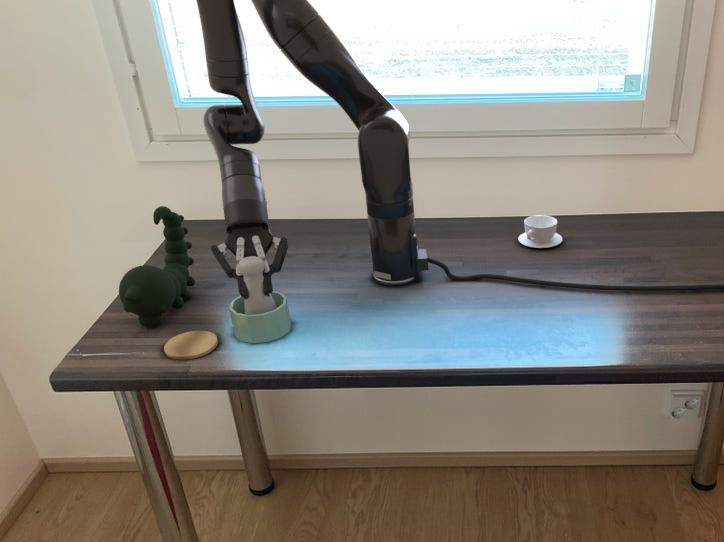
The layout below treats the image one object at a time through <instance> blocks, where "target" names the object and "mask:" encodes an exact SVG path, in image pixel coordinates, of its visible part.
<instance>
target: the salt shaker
mask: <svg viewBox="0 0 724 542" xmlns="http://www.w3.org/2000/svg"><path fill="white" fill-rule="evenodd" d="M238 268H239V272H240V273H241V274H242V275H244V282H245V283H246V288H247V294H248V298H247V299H244V301H245V315H255V314H263V313H267V312H270V311H273V310H275V309H276V308H277V307H276V304H275V302H274V300H273V298H272V295H271V293H269V294H270V296H265V293H264V287H263V279H264V277H263V275H262V274H263V271H264V263H263V260H262V259H261V258H259V257H256V256H249V257H245V258H243V259H241V260H240V261H239V264H238Z"/></svg>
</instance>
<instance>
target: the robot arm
mask: <svg viewBox="0 0 724 542" xmlns="http://www.w3.org/2000/svg"><path fill="white" fill-rule="evenodd" d="M195 1H196V5H197V10H198V14H199V20H200V26H201V32H202V39H203V46H204V47H203V48H204V54H205V63H206V70H207V77H208V83H209V86H210V89H211V90H212V91H214V92H216V93H218V94H223V95H227V96H230V97H231V96H232V97H234V98H237V100H239V102H240V103H241V104H214V105H211V106H209V107H207V109H205V111H204V114H203V121H202V123H203V127H204V130H205V132H206V136H207V137H208V139H209V141H210V144H211V145H212V148H213V150H214V152H215V155H216V158H217V161H218V167H219V174H220V180H221V182H220V183H221V200H222V207H223V217H224V225H225V233H226V234H225V238H224V242H222V243H220V244H218V245H216V244H213V245H211V247H210V251H211V252H212V254H213V256H214V257H215V259H216V260H217V262H218V263H219V266H221V268H222V270H223V272H224V273H225V274H226V276H227V278H229V279H236V282H237V289H238V290H237V291H238V293H239V296H240V295H241V297H244V299H247V298H248V294H247V288H246V283H245V282H244V275H242V274H241V273H240V272H239V268H238V264H239V261H240V260H241V259H243V258H245V257H249V256H256V257H259V258H261V259H262V260H263V263H264V271H263V272H262V275H263V277H264V279H263V287H264V293H265V296H270V294H269V293H272V292H273V291H274V288H273V287H274V286H273V281H272V276H273V275H274V274H275V273H280V272H281V271H282V268H283V264H284V261H285V258H286V255H287V252H288V249H289V241H288V239H287V238H286V237H285V236H284V237H281V238H280V237H277V236H274V233H272V231H271V228H270V221H269V214H268V207H267V206H268V202H267V198H266V192H265V189H264V185H263V180H262V173H261V167H260V166H261V165H260V160H259V157H258V155H257V154H256V153H255V152H254V151H252V150H251V149H247V148H244V147H238V146H236V145H255V144H259V142H261V140H262V139H263V137H264V136H265V130H266V129H265V123H264V119H263V116H262V114H261V112H260V109H259V106H258V104H257V102H256V99H255V96H254V92H253V89H252V85H251V79H250V69H249V59H248V51H247V50H248V49H247V45H246V39H245V35H244V31H243V27H242V24H241V21H240V18H239V15H238V12H237V9H236V5H235V1H234V0H195ZM250 1H251V3H252V5H253V7H254V8H255V10H256V13H257V15H258V17H259V19H260V21H261V23H262V24H263V27H264V28H265V30H266V32H267V34H268V35H269V37H270V38H271V41H272V42H273V43H274V44H275V45H276V47H277V48H278V49H279V50H280V52H281V53H282V54H283V55H284V56H285V58H286V59H287V60H288V61H289V62H290V63H291V65H292V66H293V67H294V69H296V71H298V72H299V73H300V74H301V75H302V76H303V77H304V78H305V79H306V80H307V81H309V82H310V83H311V84H313V85H314V86H315V87H317V88H318V89H319V90H321V91H322V92H323V93H325V94H326V95H328V96H329V97H330V98H331V99H332V100H333V101H335V102H336V103H337V105H339V107H341V109H342V110H343V111H344V113H345V114H346V115H347V116H348V118H349V119H350V121H351V122H352V123H353V124H354V126H355V127H356V129H357V131H358V134H357V149H358V160H359V168H360V176H361V183H362V187H363V189H364V193H365V194H364V195H365V203H366V204H365V205H366V213H367V224H368V233H369V234H368V235H369V243H370V252H371V253H370V254H371V262H372V276H373V277H372V278H373V280H374V282H376V283H377V284H379V285H383V286H390V287H391V286H392V287H397V286H398V287H399V286H405V285H407V284H410V283H413V282H419V281H420V272H423V271H429V264H431V265H435V266H438V267H439V268H440V269H442V270H443V271H444V273H445V275H446V277H448V278H449V279H451V280H454V281H457V282H458V281H459V282H460V281H461V282H462V281H463V282H464V281H475V280H482V279H483V280H484V279H485V280H486V279H488V280H499V281H507V282H511V283H513V282H514V283H519V284H528V285H538V286H547V287H556V288H566V289H577V290H578V289H579V290H595V291H616V292H617V291H620V292H621V291H622V292H656V291H657V292H658V291H659V292H660V291H661V292H664V291H665V292H667V291H670V292H671V291H702V290H703V291H704V290H705V291H707V290H724V283H718V284H717V283H716V284H715V283H714V284H713V283H712V284H682V285H679V284H678V285H677V284H675V285H614V284H613V285H612V284H609V285H608V284H591V283H589V284H588V283H577V282H576V283H574V282H563V281H554V280H553V281H552V280H543V279H534V278H527V277H526V278H525V277H517V276H511V275H504V274H496V273H495V274H494V273H477V274H472V275H466V276H465V275H464V276H461V275H456V274H453V273H452V272H451V270H450V268H449V267H448V266H447V265H446V264H445V263H444V262H442V261H440V260H437V259H434V258H432V257H429V256H428V252H427V249H426V248H418V239H417V238H418V237H417V231H416V219H415V218H416V217H415V203H414V188H413V186H414V185H413V181H412V176H411V162H410V161H411V160H410V147H409V143H410V138H411V131H410V126H409V123H408V121H407V119H406V118H405V116H404V115H403V114H402V113H401V112H400V110H398V109H397V107H395V106H394V105H393V104H392V103H391V102H390V101H389V99H387V98H386V97H385V96H384V94H382V93H381V92H380V90H379V89H378V88H377V87H375V85H374V84H373V83H372V82H371V80H369V79H368V77H367V76H366V75H365V74H364V71H362V69H361V68H360V66H359V64H357V62H356V60H355V59H354V58H353V56H352V55H351V53H350V52H349V51H348V49H347V48H346V47H345V45H344V44H343V43H342V42H341V40H340V39H339V37H338V36H337V35H336V33H335V32H334V31H333V30H332V28H331V27H330V25H329V24H328V23H327V22H326V21H325V19H324V18H323V17H322V16H321V14H320V13H319V12H318V11H317V10H316V8H315V7H313V5H312V4H311V2H309V1H308V0H250ZM234 145H235V146H234ZM273 245H274V249H275V250H276V251H275V255H274V258H273V261H272V263H271V264H269V262H268V259H267V255H268V252H269V251H270V249H271V248H272V246H273ZM227 250H229V252H231V253H232V254H233V255H234V256H235V261H236V266H235V268H233V267H231V265H230V263H229V262H228V261H227V259H226V257H227V255H228V253H227Z"/></svg>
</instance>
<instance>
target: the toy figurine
mask: <svg viewBox="0 0 724 542" xmlns="http://www.w3.org/2000/svg"><path fill="white" fill-rule="evenodd" d="M152 217H153V223H154V225H156V226H158V225H159V224H160V222H161V220H162V225H163V226H164V228H163V231H162V235H163V237H164V239H165V242H164V250H165V253H166V254H165V255H164V264H165V265H164V266H163V268H160V267H158V266H155V265H151V264H149V265H148V264H145V265H144V264H143V265H138V266H135V267H133V268H131V269H129V270H128V271H127V272H125V273H124V275H123V276H122V277H121V280H120V282H119V285H118V296H119V299H120V302H121V304H122V305H123V309H124V311H125V312H126V313H131V314H134V315H135V316H138V318H137V319H138V320H137V321H138V322H139V324H140V325H142V326H143V327H146V328H154V327H155V328H156V327H158V326H161V324H162V323H163V321H164V316H163V314H164V313H166V312H167V311H169V309H170V308H172V309H175V310H180V309H181V308H182V307H183V306H184V303H185V301H188V300H189V299H191V297H192V292H191V291H190V290H189V289H188V287H189V288H190V287H194V285H195V284H196V279H195V277H193V276H190V270H189V269H188V268H189V267H190V266H193V265H194V263H195V260H194V258H193V257H191V256H189V254H188V253H187V252H188V250H190V249H192V247H193V244H192V242H190V241H186V240H185V235H187V234H189V229H188V228H187V227H185V226H182V222H184V221H185V217H184V216H183V215H182V214H179V213H178V212H175V211H172V209H170V208H169V207H167V206H163V205H161V206H158V207H156V208H155V209H154V211H153V215H152Z"/></svg>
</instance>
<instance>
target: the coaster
mask: <svg viewBox="0 0 724 542" xmlns="http://www.w3.org/2000/svg"><path fill="white" fill-rule="evenodd" d="M218 343H219V340H218V336H217V335H216V334H215V333H213V332H212V331H208V330H190V331H185V332H182V333H179V334H177V335H175V336H173V337H171V338H170V339H168V341H166V342H165V344H164V346H163V351H164V354H165V356H167V357H169V358H170V359H173V360H182V361H183V360H192V359H196V358H200V357H203V356H205V355H208V354H209V353H211V352H212V351H214V350H215V349H216V348H217V346H218Z"/></svg>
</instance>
